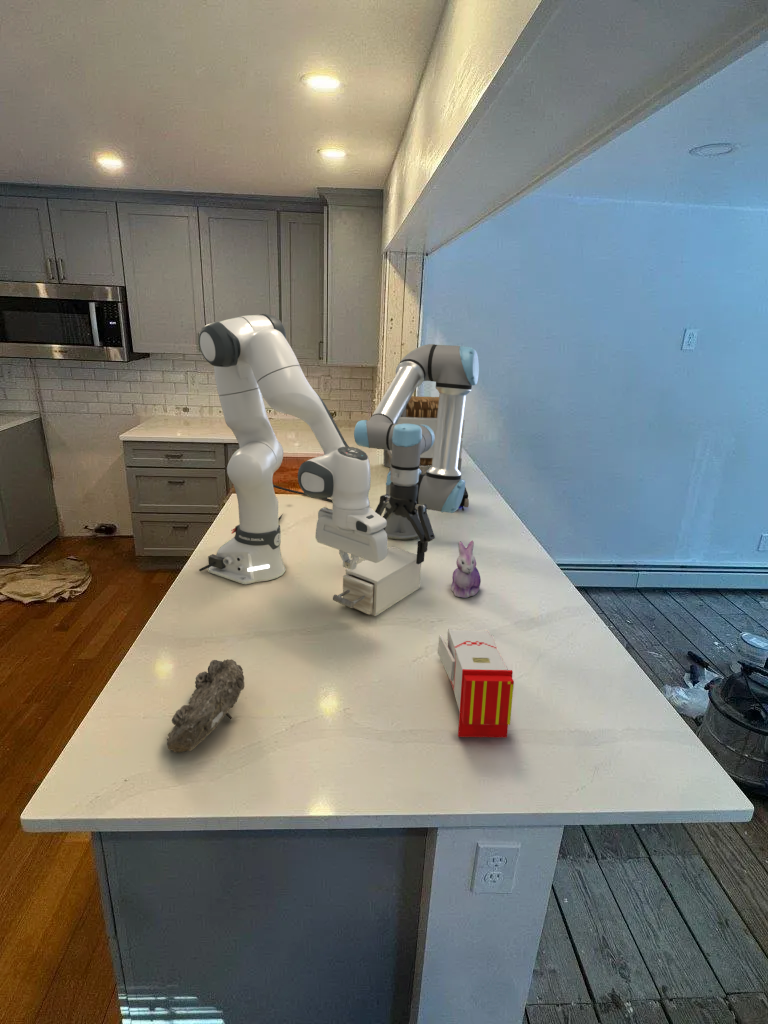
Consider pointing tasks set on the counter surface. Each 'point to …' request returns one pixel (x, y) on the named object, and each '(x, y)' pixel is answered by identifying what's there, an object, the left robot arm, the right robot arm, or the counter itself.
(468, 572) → the figurine
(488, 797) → the counter surface
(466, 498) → the figurine character
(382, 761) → the counter surface
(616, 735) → the counter surface
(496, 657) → the toy
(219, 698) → the fossil
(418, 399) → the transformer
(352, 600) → the drawer
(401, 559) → the cabinet
